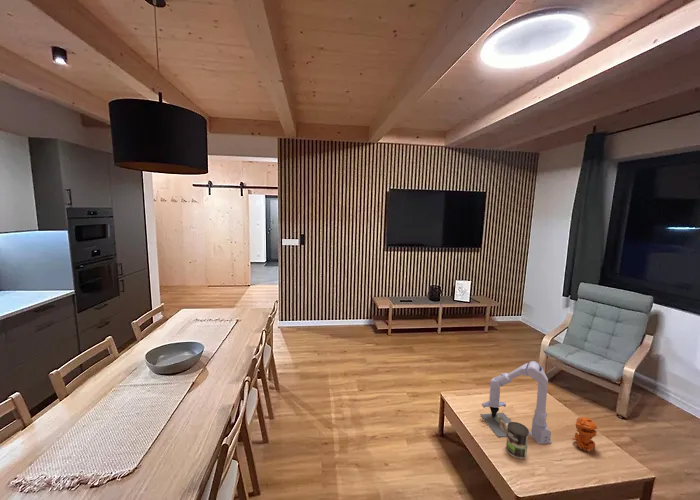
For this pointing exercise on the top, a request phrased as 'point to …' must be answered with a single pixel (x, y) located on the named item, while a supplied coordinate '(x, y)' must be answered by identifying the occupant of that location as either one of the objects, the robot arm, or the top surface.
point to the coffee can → (517, 440)
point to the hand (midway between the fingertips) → (493, 416)
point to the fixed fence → (503, 424)
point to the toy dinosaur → (585, 433)
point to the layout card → (496, 423)
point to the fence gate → (496, 417)
